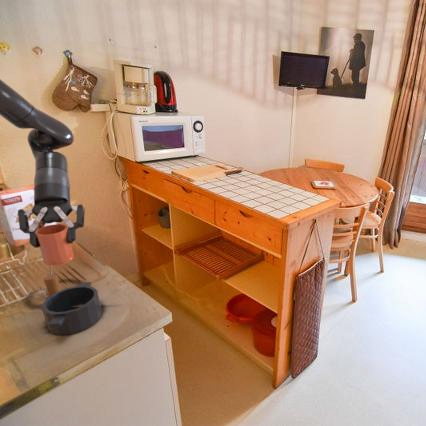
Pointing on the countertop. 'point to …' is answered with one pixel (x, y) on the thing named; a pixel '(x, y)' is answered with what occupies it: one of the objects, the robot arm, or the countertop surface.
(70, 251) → the cup
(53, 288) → the lid
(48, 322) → the pot
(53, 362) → the countertop surface
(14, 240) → the cracker box
